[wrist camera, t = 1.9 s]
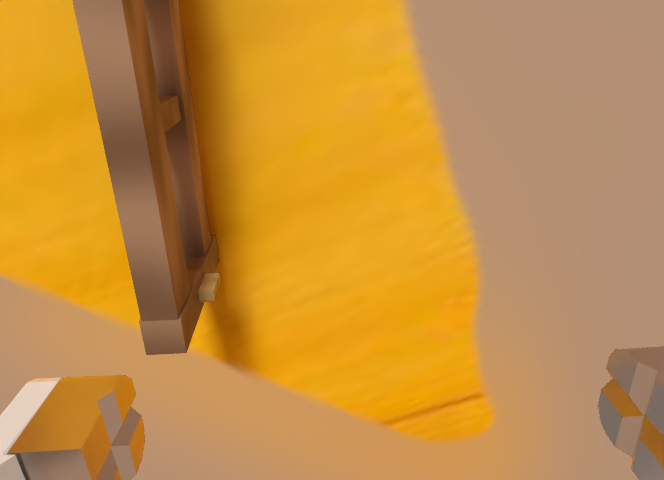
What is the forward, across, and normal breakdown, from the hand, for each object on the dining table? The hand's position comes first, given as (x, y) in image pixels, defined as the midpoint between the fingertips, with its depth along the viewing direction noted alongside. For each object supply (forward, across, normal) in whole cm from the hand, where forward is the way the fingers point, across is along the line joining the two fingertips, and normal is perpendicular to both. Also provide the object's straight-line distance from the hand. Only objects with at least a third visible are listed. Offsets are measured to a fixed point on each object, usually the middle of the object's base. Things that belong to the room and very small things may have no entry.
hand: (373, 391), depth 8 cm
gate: (+21, +8, -2) cm, 23 cm away
